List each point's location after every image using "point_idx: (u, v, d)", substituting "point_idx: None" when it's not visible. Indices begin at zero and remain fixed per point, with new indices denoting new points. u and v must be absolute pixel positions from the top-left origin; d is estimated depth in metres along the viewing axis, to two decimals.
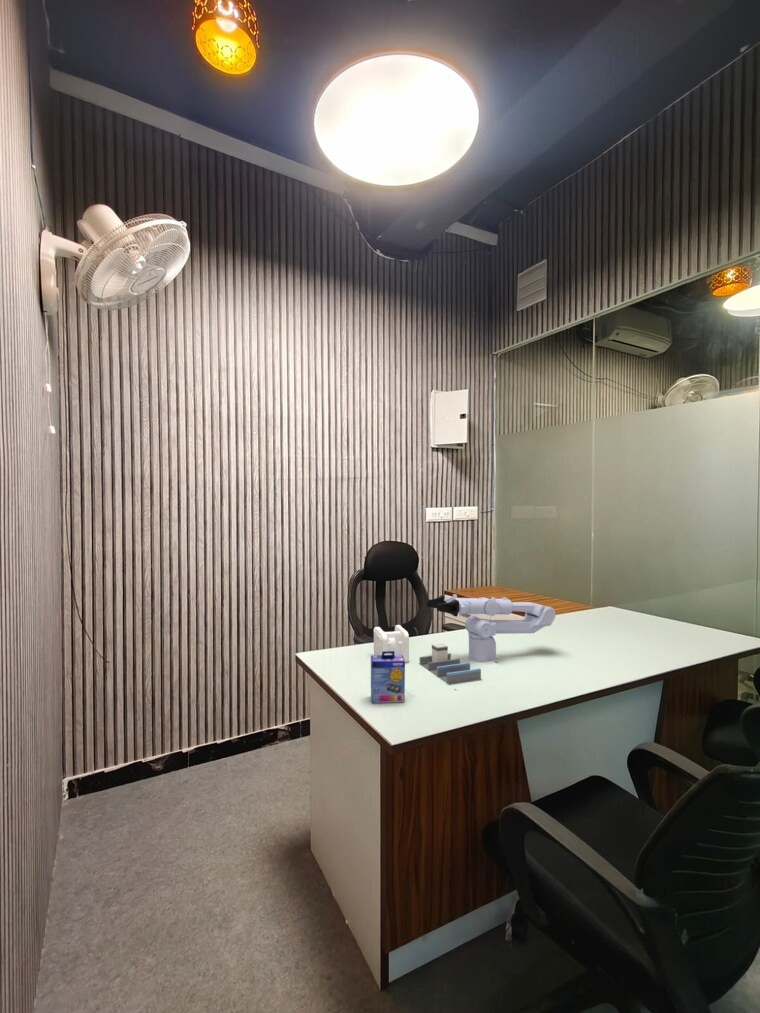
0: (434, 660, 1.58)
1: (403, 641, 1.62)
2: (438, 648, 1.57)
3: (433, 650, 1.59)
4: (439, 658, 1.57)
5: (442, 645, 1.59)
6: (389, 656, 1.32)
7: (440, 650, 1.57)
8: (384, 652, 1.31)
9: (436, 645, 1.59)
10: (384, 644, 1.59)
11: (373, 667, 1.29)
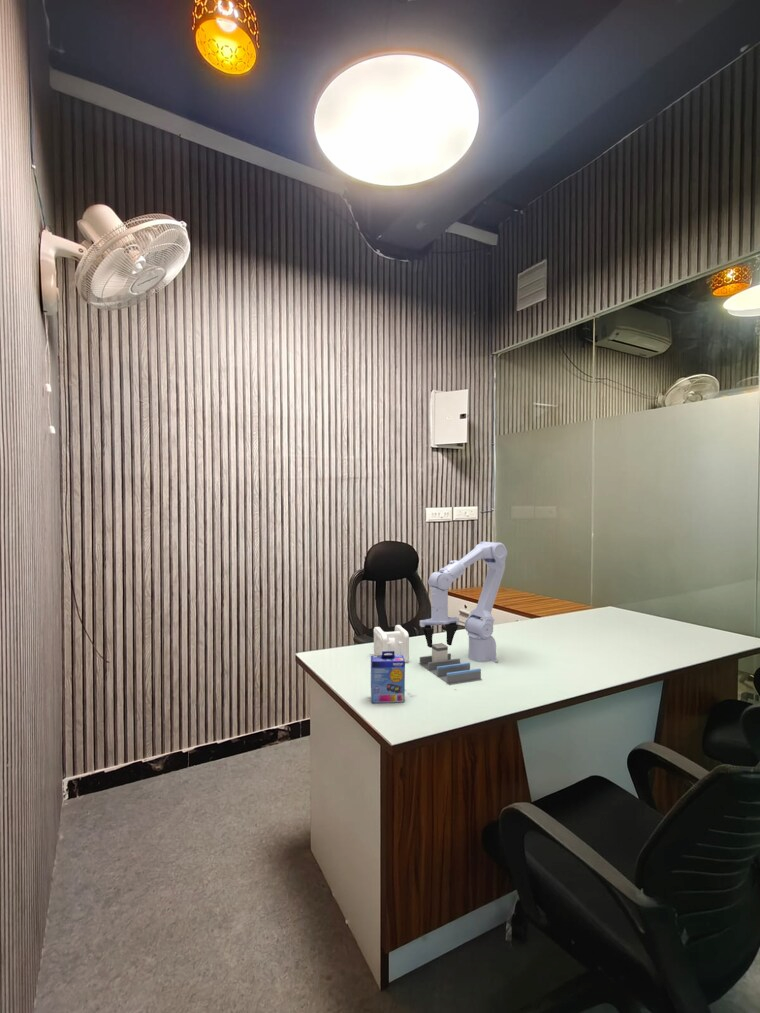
0: (434, 660, 1.58)
1: (403, 641, 1.62)
2: (438, 648, 1.57)
3: (433, 650, 1.59)
4: (439, 658, 1.57)
5: (442, 645, 1.59)
6: (389, 656, 1.32)
7: (440, 650, 1.57)
8: (384, 652, 1.31)
9: (436, 645, 1.59)
10: (384, 644, 1.59)
11: (373, 667, 1.29)
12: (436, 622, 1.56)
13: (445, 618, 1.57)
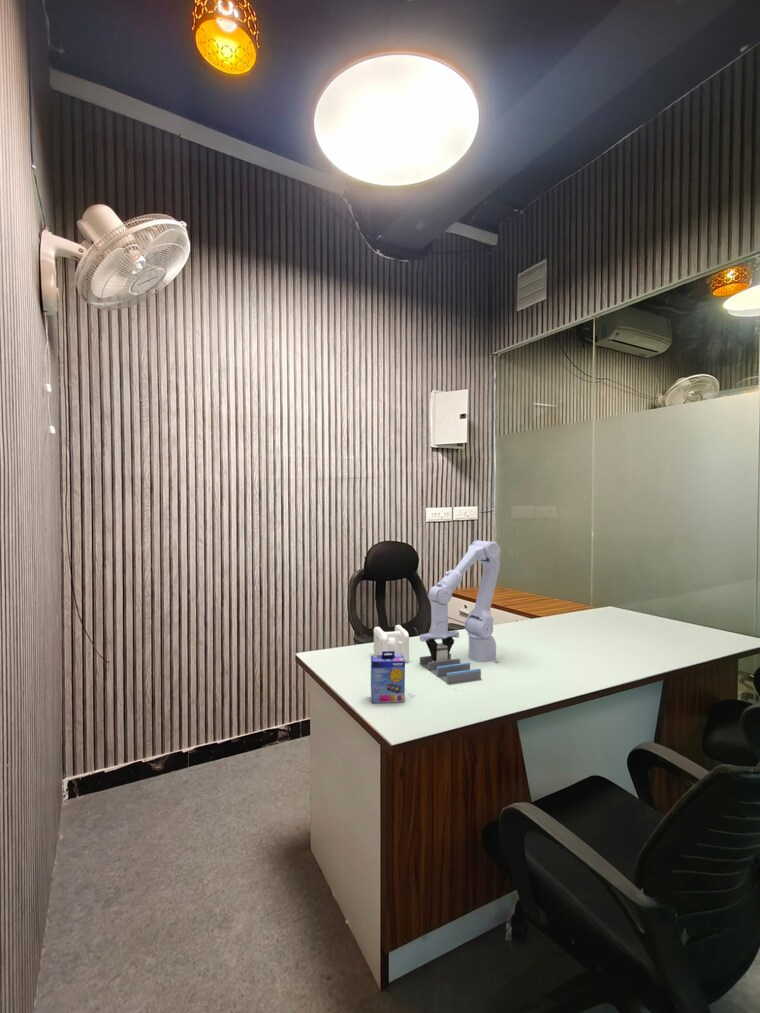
0: None
1: (403, 641, 1.62)
2: (438, 648, 1.57)
3: None
4: (439, 658, 1.57)
5: (442, 645, 1.59)
6: (389, 656, 1.32)
7: (440, 650, 1.57)
8: (384, 652, 1.31)
9: None
10: (384, 644, 1.59)
11: (373, 667, 1.29)
12: (436, 636, 1.56)
13: (445, 632, 1.57)
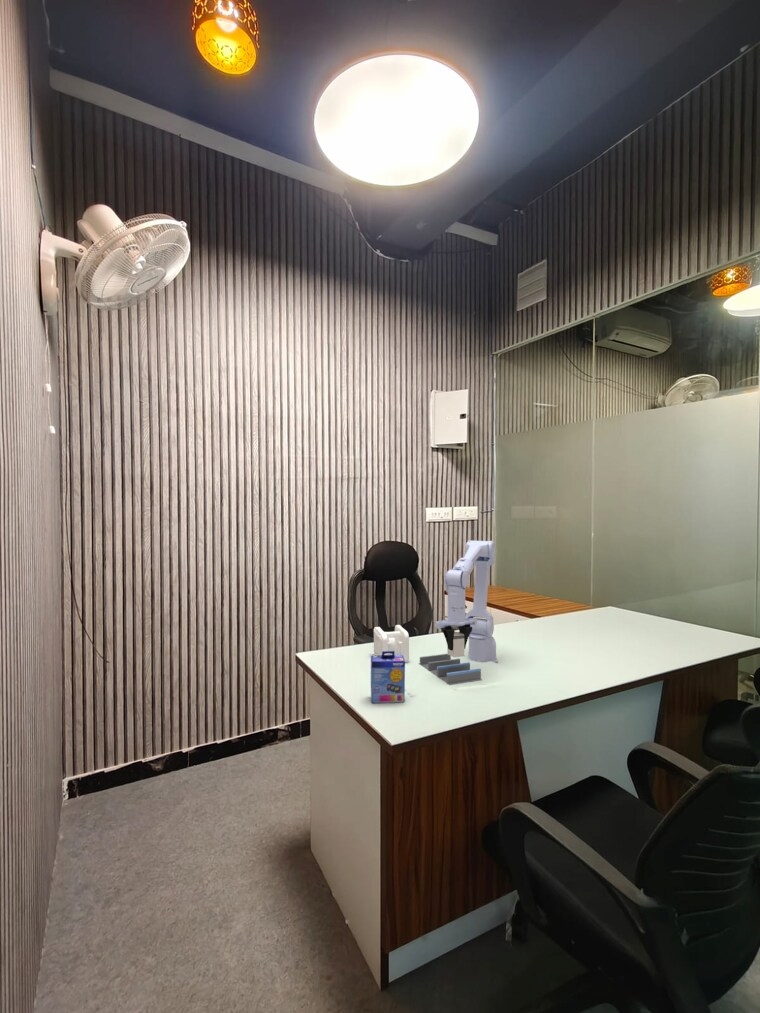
0: None
1: (403, 641, 1.62)
2: (454, 636, 1.46)
3: None
4: (456, 647, 1.46)
5: (458, 633, 1.49)
6: (389, 656, 1.32)
7: (456, 638, 1.47)
8: (384, 652, 1.31)
9: None
10: (384, 644, 1.59)
11: (373, 667, 1.29)
12: (453, 623, 1.45)
13: (463, 619, 1.46)
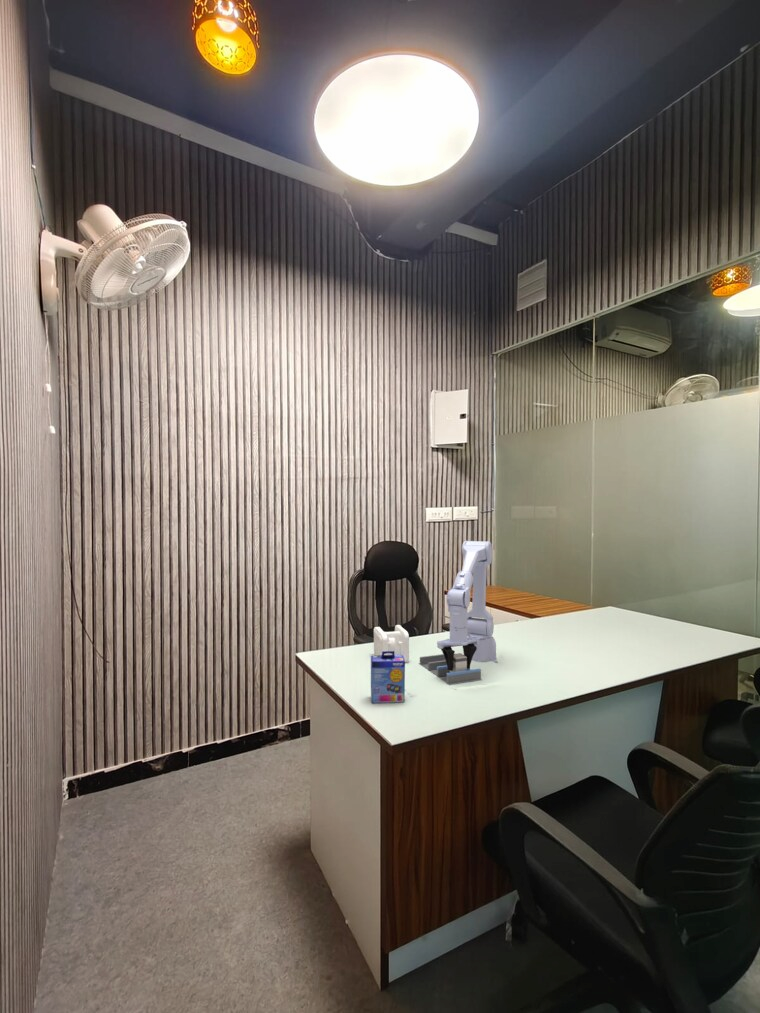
0: None
1: (403, 641, 1.62)
2: (457, 659, 1.45)
3: None
4: (458, 670, 1.45)
5: (461, 655, 1.47)
6: (389, 656, 1.32)
7: (459, 661, 1.45)
8: (384, 652, 1.31)
9: (454, 655, 1.47)
10: (384, 644, 1.59)
11: (373, 667, 1.29)
12: (455, 643, 1.44)
13: (465, 639, 1.45)
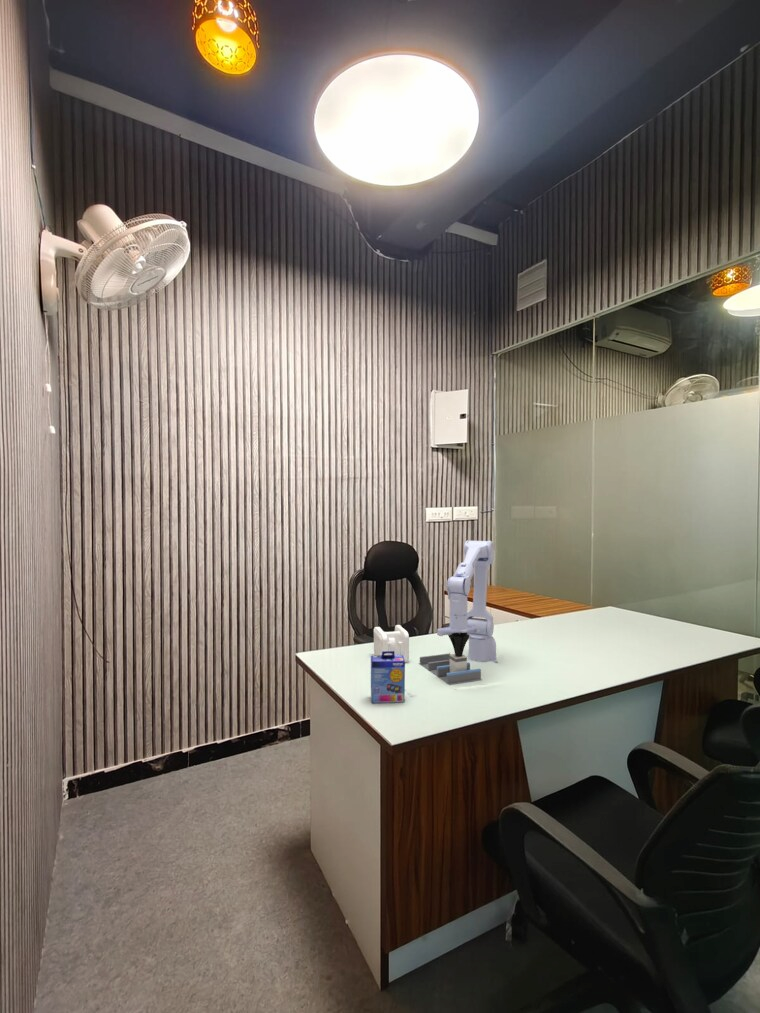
0: None
1: (403, 641, 1.62)
2: (457, 659, 1.45)
3: (451, 661, 1.48)
4: (458, 670, 1.45)
5: None
6: (389, 656, 1.32)
7: (459, 661, 1.45)
8: (384, 652, 1.31)
9: (454, 655, 1.47)
10: (384, 644, 1.59)
11: (373, 667, 1.29)
12: (455, 631, 1.44)
13: (465, 626, 1.45)
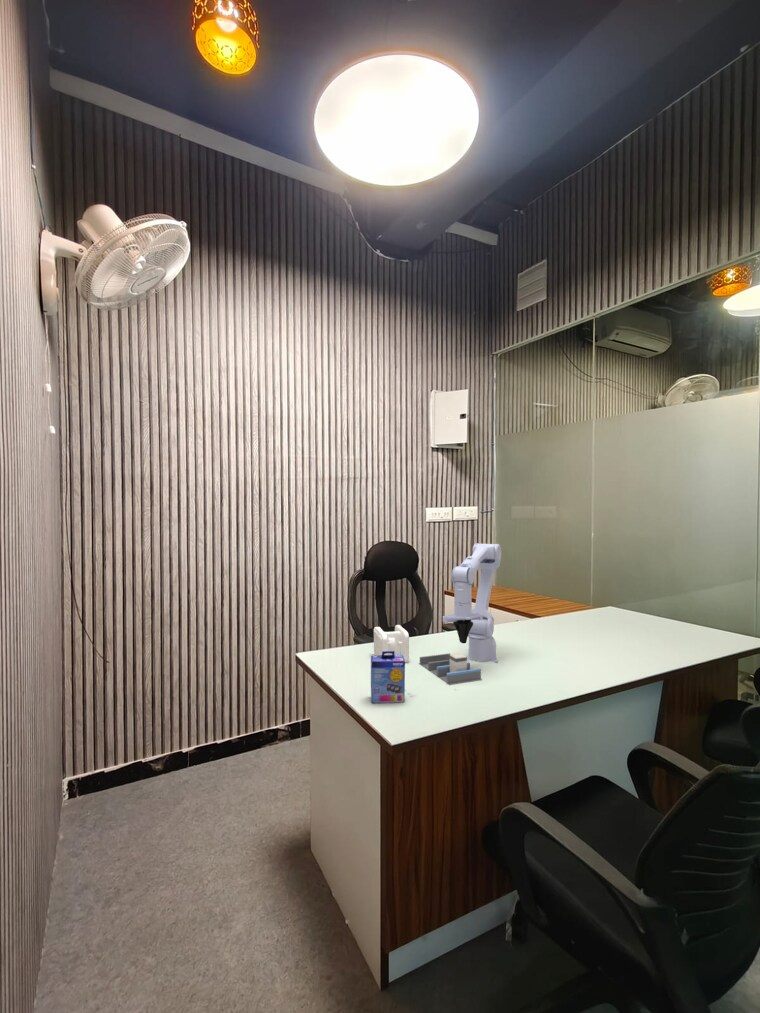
0: None
1: (404, 641, 1.62)
2: (457, 659, 1.45)
3: (451, 661, 1.48)
4: (458, 670, 1.45)
5: (461, 655, 1.47)
6: (389, 656, 1.32)
7: (459, 661, 1.45)
8: (384, 652, 1.31)
9: (454, 655, 1.47)
10: (384, 644, 1.59)
11: (373, 667, 1.29)
12: (460, 618, 1.51)
13: (469, 614, 1.52)
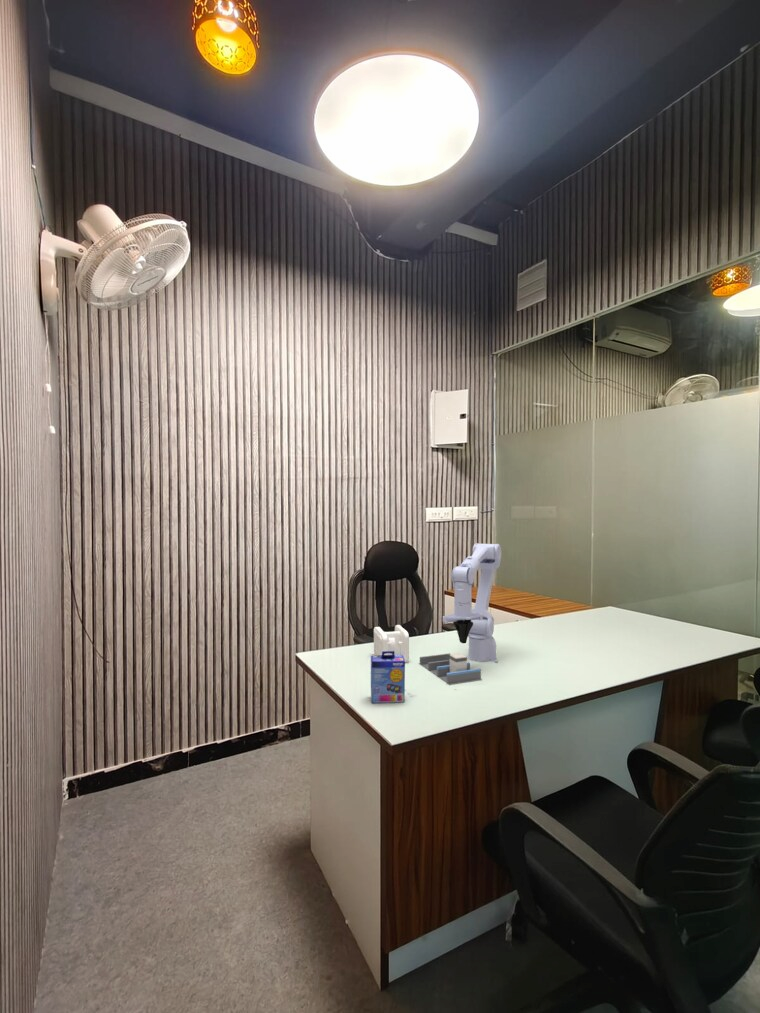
0: None
1: (404, 641, 1.62)
2: (457, 659, 1.45)
3: (451, 661, 1.48)
4: (458, 670, 1.45)
5: (461, 655, 1.47)
6: (389, 656, 1.32)
7: (459, 661, 1.45)
8: (384, 652, 1.31)
9: (454, 655, 1.47)
10: (384, 644, 1.59)
11: (373, 667, 1.29)
12: (460, 618, 1.51)
13: (469, 614, 1.52)
